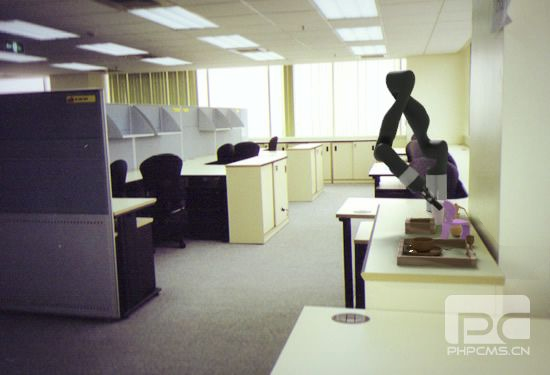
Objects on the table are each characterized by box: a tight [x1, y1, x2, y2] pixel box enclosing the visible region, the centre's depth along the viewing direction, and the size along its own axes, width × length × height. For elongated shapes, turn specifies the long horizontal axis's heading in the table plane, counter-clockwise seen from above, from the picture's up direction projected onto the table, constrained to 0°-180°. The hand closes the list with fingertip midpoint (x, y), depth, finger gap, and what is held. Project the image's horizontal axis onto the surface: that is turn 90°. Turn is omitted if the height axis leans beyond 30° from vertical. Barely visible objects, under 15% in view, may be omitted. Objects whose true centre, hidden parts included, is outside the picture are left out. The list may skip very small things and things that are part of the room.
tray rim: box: [396, 237, 477, 268], centre depth 161 cm, size 25×22×2 cm
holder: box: [404, 217, 436, 235], centre depth 197 cm, size 11×11×4 cm
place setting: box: [404, 234, 476, 257], centre depth 161 cm, size 18×20×6 cm
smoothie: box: [430, 191, 445, 226], centre depth 205 cm, size 6×6×14 cm
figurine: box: [444, 202, 469, 237], centre depth 186 cm, size 8×6×12 cm
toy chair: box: [439, 199, 471, 239], centre depth 176 cm, size 8×9×15 cm
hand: (441, 207), depth 205 cm, fingers open, 8 cm apart
